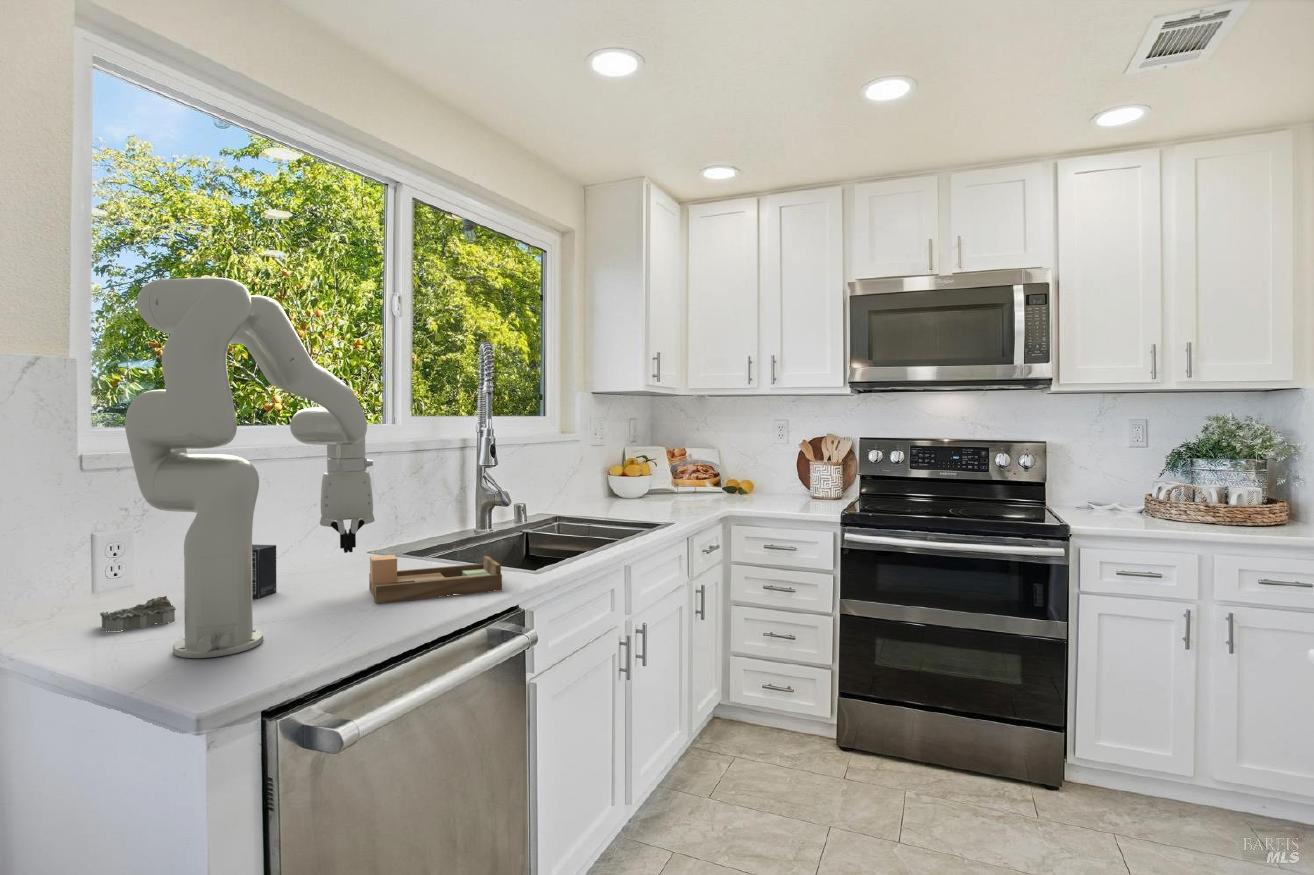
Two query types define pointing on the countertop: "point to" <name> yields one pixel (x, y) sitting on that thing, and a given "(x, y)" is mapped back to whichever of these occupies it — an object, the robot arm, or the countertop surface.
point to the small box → (263, 570)
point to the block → (383, 569)
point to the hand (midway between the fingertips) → (348, 551)
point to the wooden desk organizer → (439, 582)
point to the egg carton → (139, 615)
